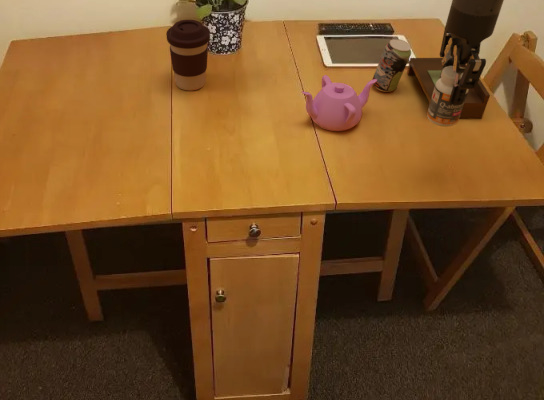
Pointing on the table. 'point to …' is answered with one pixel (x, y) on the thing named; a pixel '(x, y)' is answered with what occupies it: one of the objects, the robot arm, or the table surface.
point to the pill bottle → (444, 100)
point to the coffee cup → (189, 53)
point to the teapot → (337, 105)
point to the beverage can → (392, 65)
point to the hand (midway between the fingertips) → (449, 93)
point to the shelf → (430, 74)
